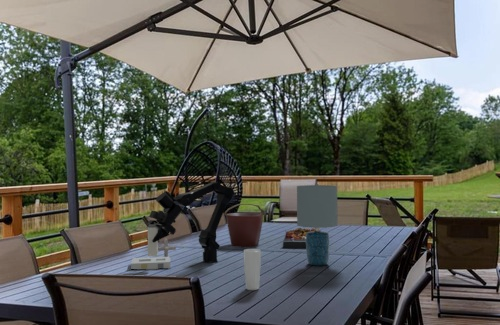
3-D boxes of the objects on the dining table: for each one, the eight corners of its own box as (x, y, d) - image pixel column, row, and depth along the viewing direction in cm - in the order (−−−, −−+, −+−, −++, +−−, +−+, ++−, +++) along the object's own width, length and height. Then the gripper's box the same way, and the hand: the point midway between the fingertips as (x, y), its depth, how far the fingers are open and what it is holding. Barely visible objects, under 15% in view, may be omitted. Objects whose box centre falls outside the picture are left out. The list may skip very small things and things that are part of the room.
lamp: (290, 262, 240) (290, 185, 240) (325, 259, 246) (324, 184, 247) (309, 269, 222) (308, 187, 222) (345, 266, 228) (344, 186, 229)
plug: (158, 254, 227) (157, 224, 228) (156, 255, 223) (156, 225, 224) (149, 254, 227) (148, 224, 227) (148, 256, 223) (147, 225, 223)
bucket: (266, 242, 305) (265, 202, 305) (263, 248, 283) (263, 205, 283) (227, 242, 307) (227, 202, 307) (221, 247, 285) (221, 205, 285)
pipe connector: (157, 260, 248) (157, 240, 248) (155, 256, 258) (155, 238, 258) (176, 259, 251) (176, 239, 251) (174, 255, 260) (174, 237, 260)
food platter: (325, 249, 279) (325, 231, 279) (283, 249, 282) (282, 231, 282) (323, 238, 324) (323, 222, 324) (286, 237, 327) (286, 222, 327)
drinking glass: (260, 286, 191) (260, 248, 192) (261, 291, 185) (261, 251, 185) (243, 286, 191) (243, 248, 191) (243, 291, 184) (243, 251, 185)
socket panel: (170, 262, 242) (170, 256, 242) (170, 268, 228) (170, 262, 228) (133, 264, 239) (133, 258, 239) (130, 270, 225) (130, 263, 225)
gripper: (151, 203, 235) (130, 228, 229) (169, 205, 220) (147, 232, 214) (166, 218, 240) (145, 242, 233) (184, 221, 225) (163, 247, 218)
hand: (150, 241), depth 225 cm, fingers closed on plug, 5 cm apart
